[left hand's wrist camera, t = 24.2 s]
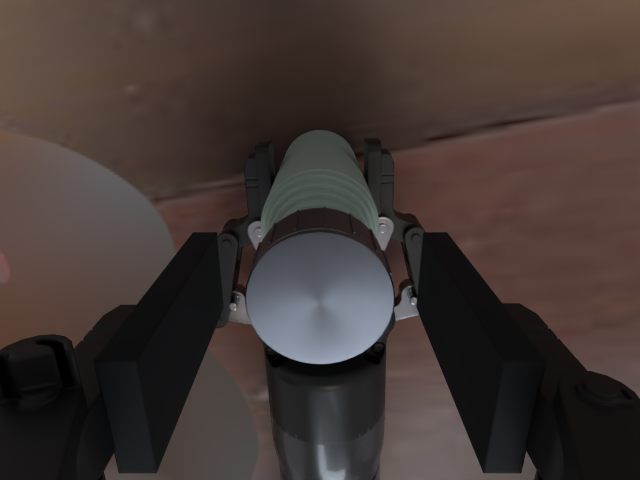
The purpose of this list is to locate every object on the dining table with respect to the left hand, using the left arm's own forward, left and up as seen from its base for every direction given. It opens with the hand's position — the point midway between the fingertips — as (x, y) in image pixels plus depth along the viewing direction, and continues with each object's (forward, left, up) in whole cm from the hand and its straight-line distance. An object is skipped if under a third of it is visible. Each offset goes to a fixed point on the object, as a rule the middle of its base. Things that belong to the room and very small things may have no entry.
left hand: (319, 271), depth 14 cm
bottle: (0, 0, -17) cm, 17 cm away
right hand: (-3, 0, -10) cm, 10 cm away
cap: (0, 0, +2) cm, 2 cm away
